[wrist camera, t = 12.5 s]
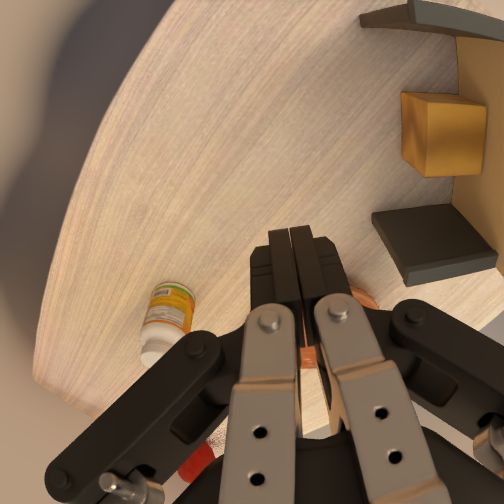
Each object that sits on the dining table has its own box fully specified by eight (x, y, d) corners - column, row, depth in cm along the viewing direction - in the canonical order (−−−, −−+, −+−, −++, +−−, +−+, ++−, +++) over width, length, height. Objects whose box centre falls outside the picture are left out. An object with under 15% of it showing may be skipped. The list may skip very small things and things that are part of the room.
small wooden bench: (371, 224, 31) (433, 347, 18) (358, 12, 19) (479, -11, 6) (456, 212, 30) (535, 312, 17) (462, 25, 17) (595, 48, 5)
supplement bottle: (185, 317, 39) (174, 381, 32) (147, 301, 38) (128, 365, 30) (202, 292, 37) (192, 360, 29) (161, 274, 35) (140, 341, 27)
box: (400, 92, 23) (427, 102, 19) (456, 94, 22) (486, 106, 18) (401, 157, 26) (425, 178, 22) (453, 154, 26) (480, 174, 22)
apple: (171, 437, 68) (165, 484, 57) (200, 433, 65) (196, 484, 54) (196, 448, 74) (193, 491, 63) (225, 444, 71) (223, 491, 59)
